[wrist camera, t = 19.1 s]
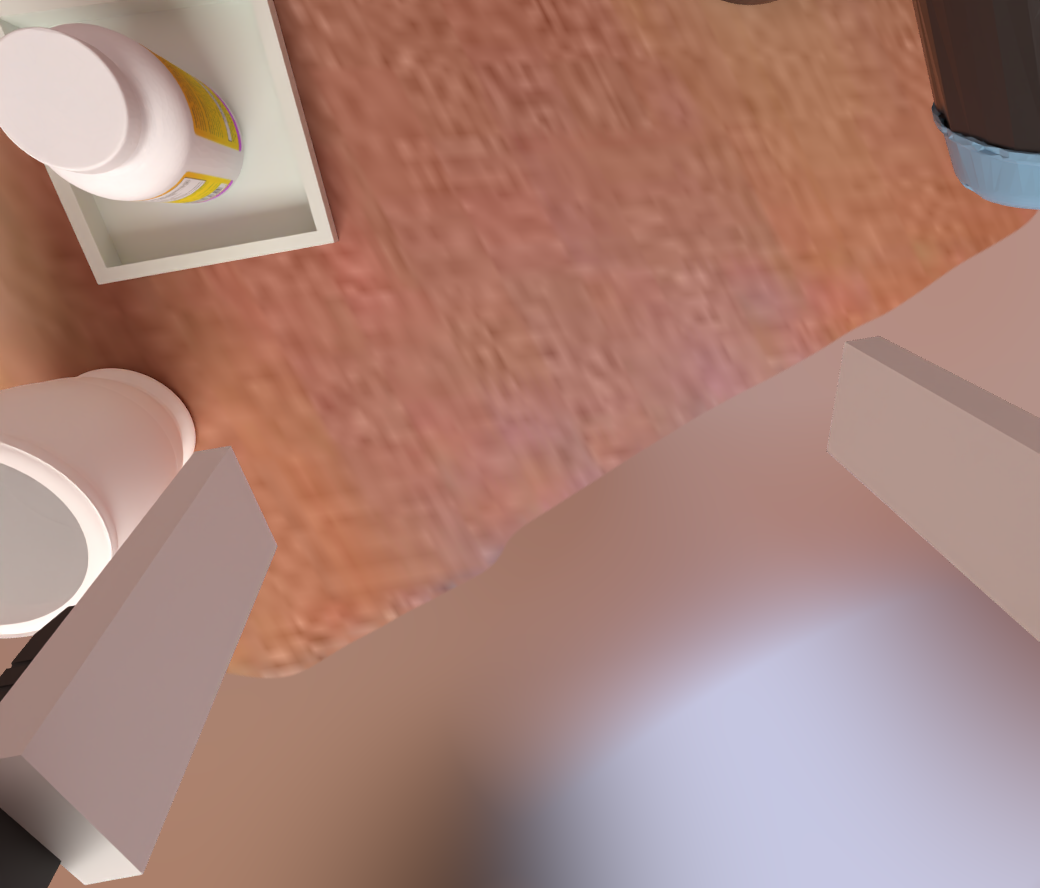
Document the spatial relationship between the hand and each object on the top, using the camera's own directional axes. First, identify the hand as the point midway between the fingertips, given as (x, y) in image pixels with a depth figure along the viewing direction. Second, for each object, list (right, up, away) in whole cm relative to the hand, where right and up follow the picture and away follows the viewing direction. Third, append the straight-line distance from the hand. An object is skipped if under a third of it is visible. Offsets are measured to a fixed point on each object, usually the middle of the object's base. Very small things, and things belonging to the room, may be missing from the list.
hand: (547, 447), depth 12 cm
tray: (-20, +18, +21) cm, 34 cm away
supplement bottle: (-20, +18, +20) cm, 33 cm away
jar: (-27, +1, +26) cm, 38 cm away
